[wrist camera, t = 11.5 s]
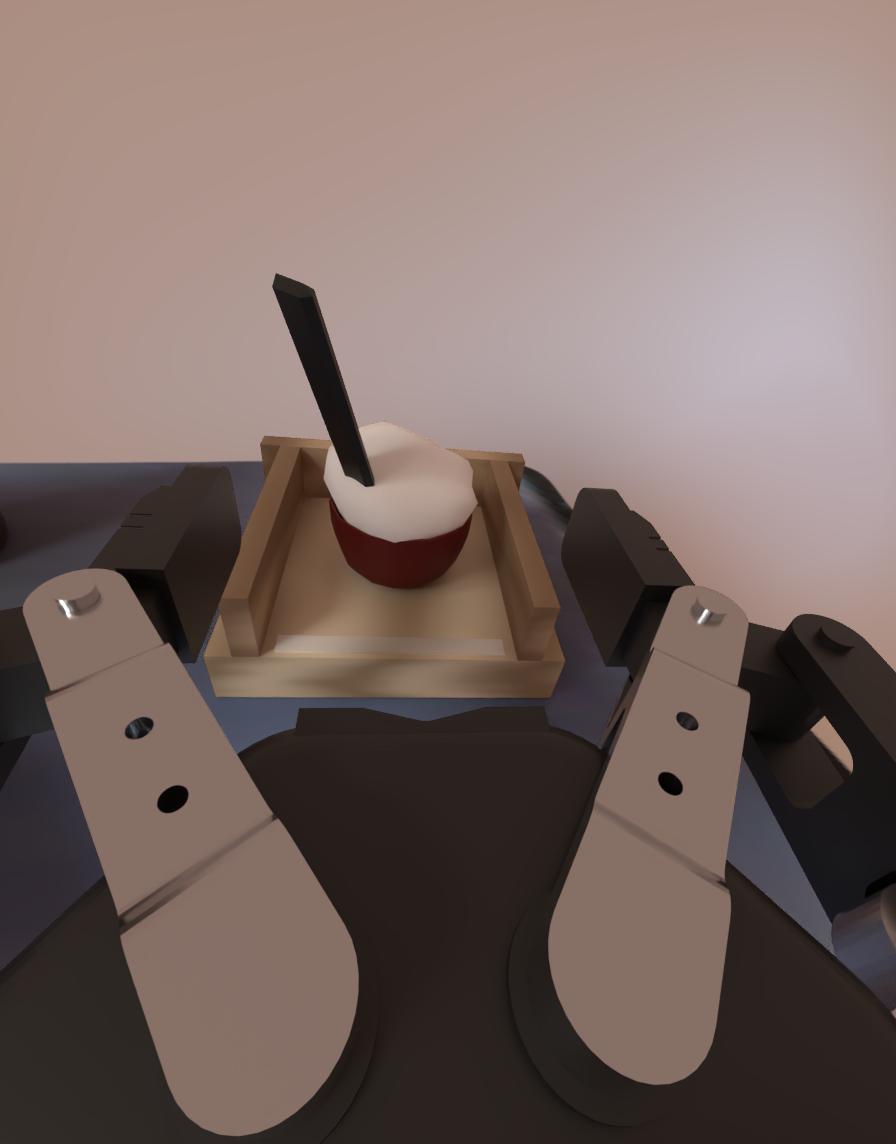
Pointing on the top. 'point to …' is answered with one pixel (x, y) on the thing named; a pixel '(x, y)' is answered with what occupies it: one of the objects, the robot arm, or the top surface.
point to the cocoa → (380, 470)
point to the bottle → (2, 530)
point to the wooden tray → (383, 600)
